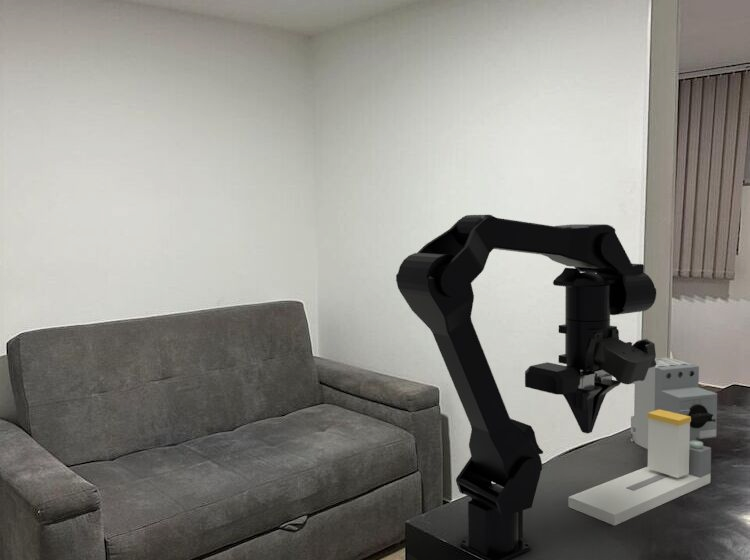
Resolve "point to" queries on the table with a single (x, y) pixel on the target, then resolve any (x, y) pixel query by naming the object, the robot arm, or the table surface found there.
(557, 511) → the table surface
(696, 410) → the circuit breaker
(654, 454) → the handle
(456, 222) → the robot arm
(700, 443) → the long white slab
